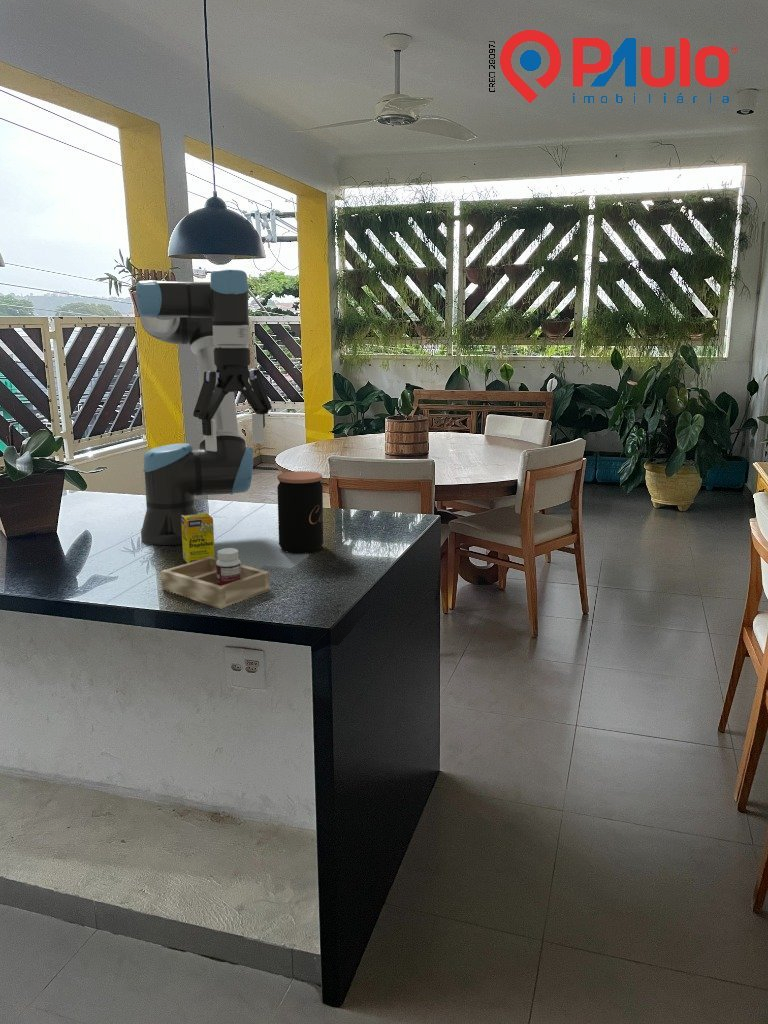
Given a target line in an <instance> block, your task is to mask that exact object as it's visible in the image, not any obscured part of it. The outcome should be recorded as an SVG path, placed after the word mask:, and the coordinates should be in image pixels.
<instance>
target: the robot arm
mask: <svg viewBox="0 0 768 1024" xmlns="http://www.w3.org/2000/svg"><path fill="white" fill-rule="evenodd" d="M135 287H136V288H135V289H136V293H135V294H136V304H137V305H136V306H137V314H138V315H139V316H140V317H139V319H140V323H141V326H142V328H143V329H144V331H145V332H146V333H147V334H148V335H150V336H151V337H152V338H154V339H156V340H159V341H162V342H164V343H169V344H172V345H173V344H174V345H189V346H190V347H189V349H190V351H191V353H192V354H194V355H195V356H196V358H197V369H198V370H197V371H198V377H199V378H198V379H199V380H198V382H199V390H200V392H199V394H198V398H197V401H196V404H195V406H194V411H193V413H192V416H193V417H194V418H198V419H199V420H201V427H202V429H201V430H202V432H201V433H202V434H203V435H202V436H204V437H203V438H202V439H201V440H200V442H199V443H198V445H199V447H198V448H197V449H195V448H194V449H193V446H192V444H190V443H187V442H186V443H185V442H183V443H182V442H181V443H171V444H166V445H160V446H156V447H153V448H151V449H149V450H147V451H146V452H145V453H144V456H143V469H142V471H143V473H144V483H145V484H144V486H145V487H144V488H145V489H144V490H145V502H146V503H145V504H146V510H145V515H144V517H143V522H142V523H143V524H142V527H141V529H140V535H141V536H140V537H141V541H142V542H143V543H145V544H149V545H156V546H173V545H174V546H176V545H182V525H181V515H191V514H198V512H197V509H196V506H195V505H196V504H195V497H196V496H214V495H234V494H243V493H246V492H248V491H249V490H250V488H251V485H252V481H253V469H254V468H253V467H254V451H253V447H251V446H247V445H246V444H247V443H246V440H245V438H244V437H242V436H241V435H240V434H239V427H238V425H239V424H238V418H237V417H238V416H237V415H238V414H237V407H236V397H235V392H240V393H241V394H242V395H243V397H244V398H245V400H246V401H247V402H248V404H249V406H250V407H251V409H252V410H253V411H254V413H251V425H252V426H251V428H252V443H253V444H258V445H262V444H263V445H264V444H265V441H264V440H265V438H264V428H265V426H266V419H265V417H266V416H265V415H268V413H269V411H272V408H273V406H272V404H271V401H270V398H269V396H268V393H267V391H266V389H265V386H264V384H263V382H262V378H261V370H260V369H259V368H249V366H250V365H251V349H250V348H249V347H247V346H249V345H250V344H251V343H250V323H249V289H250V288H249V285H248V275H247V273H246V271H244V270H241V269H214V270H212V271H211V273H210V281H173V280H172V281H171V280H170V281H169V280H155V279H151V280H139V281H138V282H136V285H135Z"/></svg>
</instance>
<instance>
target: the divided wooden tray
mask: <svg viewBox="0 0 768 1024" xmlns="http://www.w3.org/2000/svg"><path fill="white" fill-rule="evenodd" d="M217 560H218V557H211V556H210V557H207V558H203V559H200V560H197V561H193V562H190V563H183V564H180V565H177V566H173V567H170V568H167V569H163V570H160V572H161V573H160V574H161V589H162V591H164V590H166V591H165V592H168V591H169V592H168V593H171V592H173V593H172V594H174V593H176V594H175V595H177V594H179V595H178V596H180V595H181V596H180V597H183V596H184V598H186V597H187V598H186V599H189V598H190V600H193V601H195V602H199V603H202V604H205V605H207V606H212V607H214V608H218V609H220V610H222V609H224V608H225V609H226V608H228V607H230V606H233V605H235V603H236V604H238V603H240V601H241V602H244V601H246V600H250V599H252V598H254V597H257V596H260V595H262V593H263V594H265V593H268V592H270V591H271V590H270V587H271V586H270V585H271V584H270V583H271V582H270V571H267V570H263V569H260V568H255V567H253V566H248V565H246V564H245V565H244V564H241V579H240V580H237V581H234V582H231V583H228V584H225V585H222V586H219V585H217V570H216V562H217ZM245 599H246V600H245ZM243 600H244V601H243ZM232 604H233V605H232ZM229 605H230V606H229ZM227 606H228V607H227Z"/></svg>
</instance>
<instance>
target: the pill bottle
mask: <svg viewBox="0 0 768 1024" xmlns="http://www.w3.org/2000/svg"><path fill="white" fill-rule="evenodd" d="M239 557H240V556H239V549H238V548H233V547H227V548H226V547H225V548H222V549H219V550H217V558H218V560H217V562H216V570H217V585H219V586H222V585H225V584H228V583H231V582H234V581H237V580H240V579H241V565H242V563H241V560H240V558H239Z"/></svg>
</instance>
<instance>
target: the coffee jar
mask: <svg viewBox="0 0 768 1024" xmlns="http://www.w3.org/2000/svg"><path fill="white" fill-rule="evenodd" d="M276 477H277V480H278V485H277V488H276V489H277V516H278V517H277V521H278V522H277V525H278V528H277V529H278V545H279V547H280V548H281V550H282V551H283V552H285V553H288V554H295V555H297V554H298V555H299V554H300V555H303V554H310V553H315V552H318V551H319V550H321V547H323V544H324V501H323V500H324V495H323V494H324V492H323V491H324V488H323V487H324V486H323V484H322V482H321V481H322V480H323V474H322V473H319V472H315V471H307V470H294V471H285V472H281V473H279V474H277V476H276Z"/></svg>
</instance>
